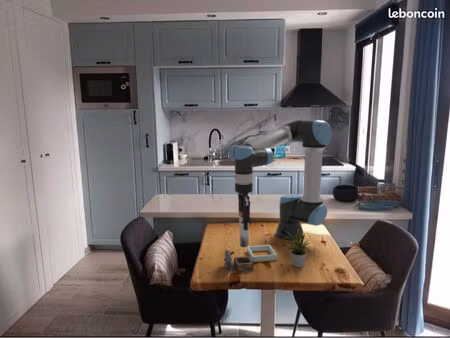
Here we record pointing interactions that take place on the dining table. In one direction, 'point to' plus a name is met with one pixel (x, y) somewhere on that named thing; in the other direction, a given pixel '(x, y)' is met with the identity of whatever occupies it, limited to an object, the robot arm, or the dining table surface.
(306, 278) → the dining table surface
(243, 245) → the pin
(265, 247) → the tray
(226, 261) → the block
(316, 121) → the robot arm
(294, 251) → the house plant
